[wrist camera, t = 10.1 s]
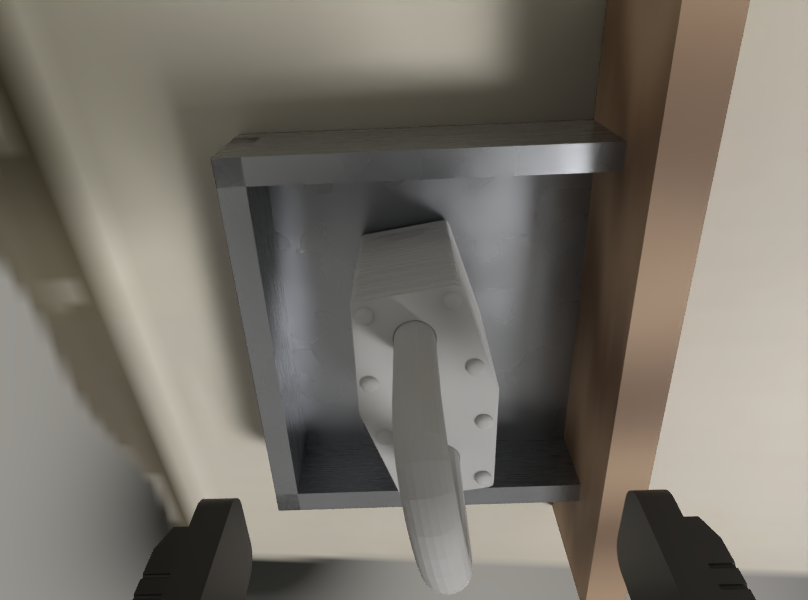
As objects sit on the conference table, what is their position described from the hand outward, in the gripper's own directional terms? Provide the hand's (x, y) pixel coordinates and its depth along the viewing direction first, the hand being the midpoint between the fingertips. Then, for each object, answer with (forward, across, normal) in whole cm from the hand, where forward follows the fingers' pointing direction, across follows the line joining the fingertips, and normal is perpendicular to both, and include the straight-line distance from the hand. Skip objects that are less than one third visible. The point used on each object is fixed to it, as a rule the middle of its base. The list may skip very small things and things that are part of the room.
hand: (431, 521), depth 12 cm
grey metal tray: (+10, 0, +1) cm, 10 cm away
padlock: (+10, 0, 0) cm, 10 cm away
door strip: (+10, -6, 0) cm, 12 cm away
